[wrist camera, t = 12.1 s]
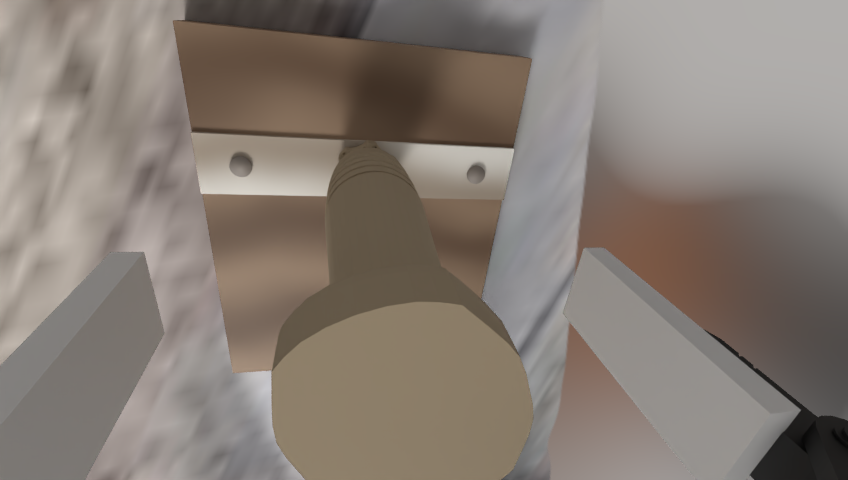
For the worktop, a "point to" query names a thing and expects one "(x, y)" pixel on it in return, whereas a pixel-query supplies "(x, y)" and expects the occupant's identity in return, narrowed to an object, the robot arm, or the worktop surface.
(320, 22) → the worktop surface
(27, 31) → the worktop surface
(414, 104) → the board
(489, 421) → the handle
